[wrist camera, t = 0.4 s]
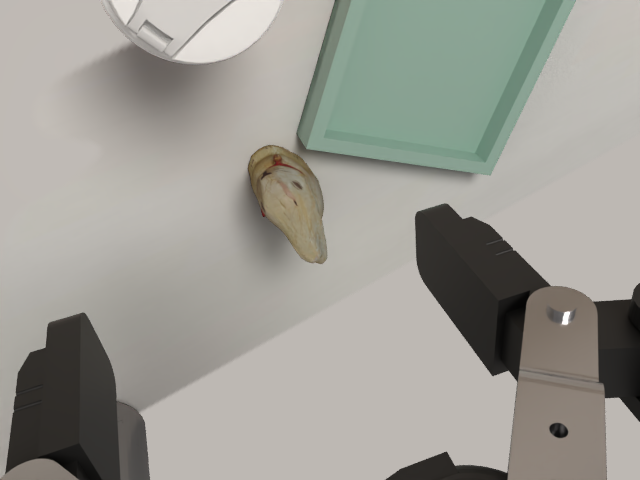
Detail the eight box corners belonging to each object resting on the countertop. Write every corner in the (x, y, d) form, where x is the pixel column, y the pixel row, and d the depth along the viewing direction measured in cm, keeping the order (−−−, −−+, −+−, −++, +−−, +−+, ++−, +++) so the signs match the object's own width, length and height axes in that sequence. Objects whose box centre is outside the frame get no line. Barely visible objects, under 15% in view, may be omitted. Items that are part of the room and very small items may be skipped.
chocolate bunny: (314, 127, 43) (362, 198, 36) (320, 215, 48) (363, 294, 40) (239, 141, 42) (272, 217, 34) (253, 230, 47) (284, 314, 39)
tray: (474, 160, 49) (490, 175, 48) (296, 133, 43) (306, 148, 41) (584, -73, 40) (608, -67, 39) (379, -153, 34) (397, -150, 32)
